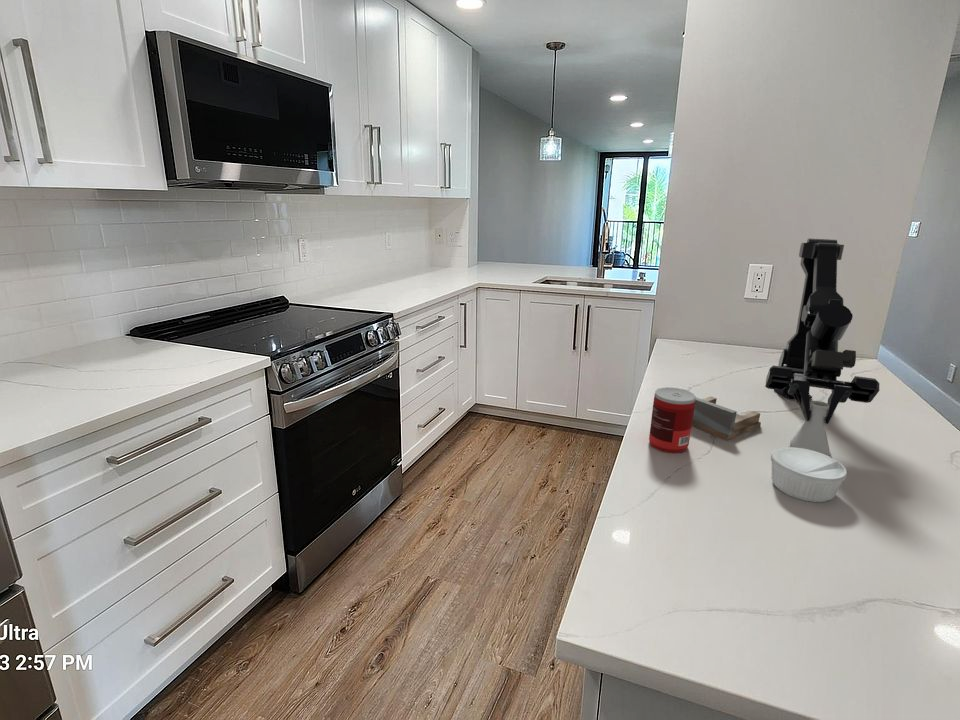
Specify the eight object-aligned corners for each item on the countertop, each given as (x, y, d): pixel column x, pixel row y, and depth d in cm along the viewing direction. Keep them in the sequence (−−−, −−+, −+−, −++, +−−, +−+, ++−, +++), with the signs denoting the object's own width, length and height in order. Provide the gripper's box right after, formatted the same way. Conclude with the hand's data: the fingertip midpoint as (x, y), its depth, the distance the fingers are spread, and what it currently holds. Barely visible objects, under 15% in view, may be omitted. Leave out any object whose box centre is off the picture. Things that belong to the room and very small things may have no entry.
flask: (836, 460, 103) (848, 412, 100) (796, 455, 105) (806, 408, 102) (822, 443, 110) (832, 398, 107) (783, 440, 111) (793, 395, 108)
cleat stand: (707, 407, 128) (710, 383, 126) (760, 426, 118) (765, 401, 116) (673, 418, 121) (676, 394, 119) (726, 440, 110) (731, 413, 109)
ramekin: (841, 514, 85) (848, 485, 84) (763, 493, 91) (768, 465, 89) (839, 484, 94) (846, 457, 93) (769, 467, 100) (774, 441, 98)
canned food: (687, 439, 110) (695, 390, 107) (688, 456, 103) (697, 403, 100) (649, 433, 113) (655, 384, 109) (647, 449, 105) (654, 398, 102)
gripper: (777, 327, 107) (771, 395, 101) (889, 338, 100) (890, 413, 94) (768, 354, 117) (761, 419, 110) (870, 367, 109) (869, 437, 103)
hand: (817, 421), depth 104 cm, fingers closed on flask, 3 cm apart
